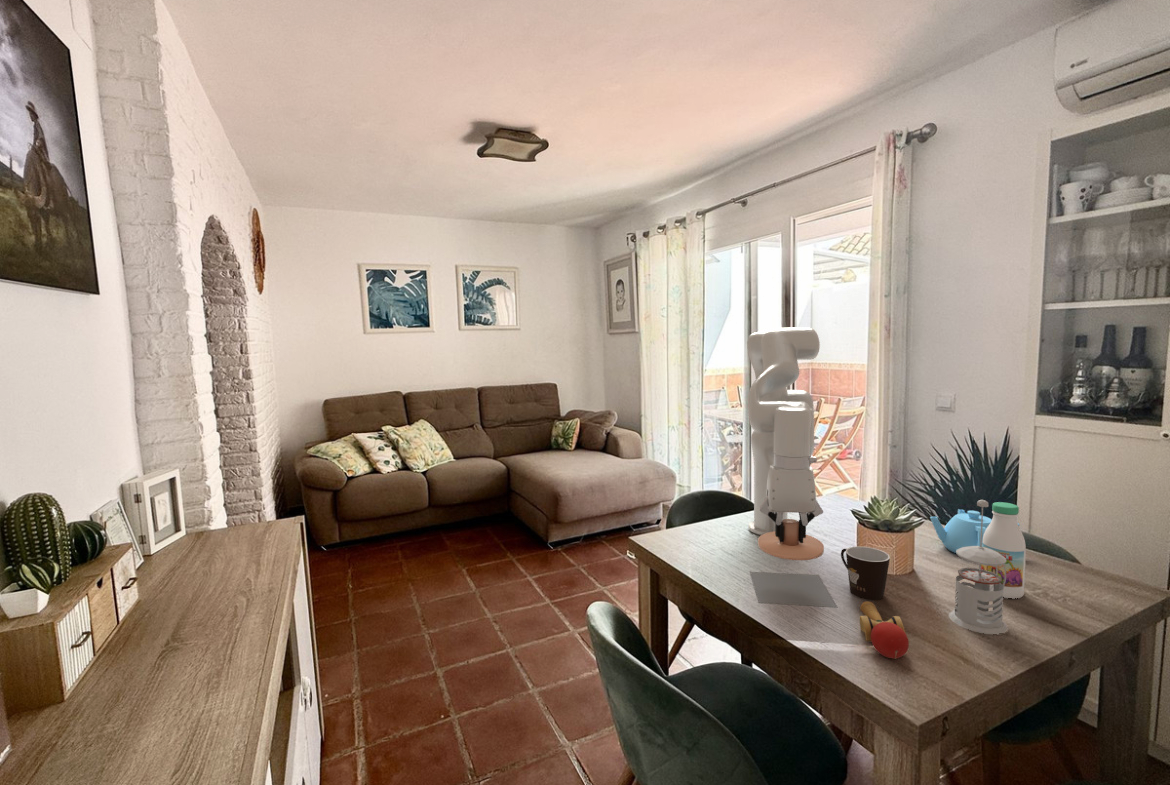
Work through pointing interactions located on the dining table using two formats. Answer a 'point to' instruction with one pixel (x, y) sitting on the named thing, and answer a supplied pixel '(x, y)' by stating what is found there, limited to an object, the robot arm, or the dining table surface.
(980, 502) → the french press
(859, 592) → the coffee mug
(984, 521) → the teapot
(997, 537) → the milk bottle
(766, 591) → the mat
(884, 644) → the kendama
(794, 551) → the lid
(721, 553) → the dining table surface
